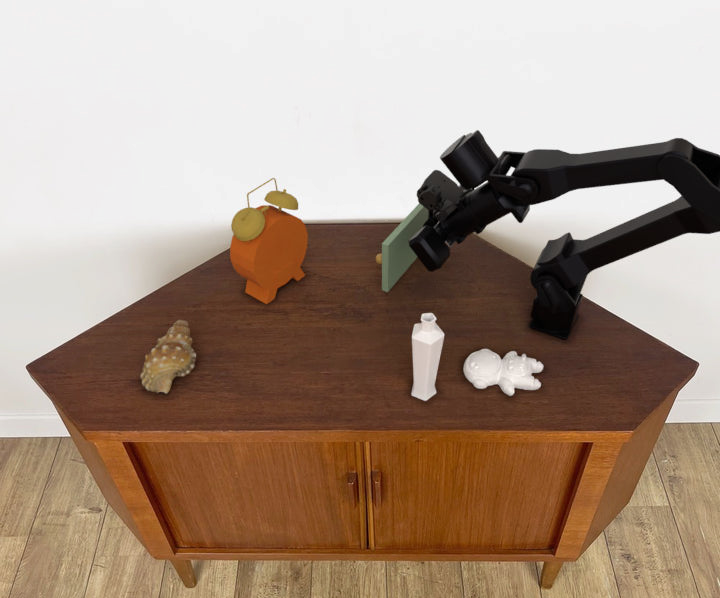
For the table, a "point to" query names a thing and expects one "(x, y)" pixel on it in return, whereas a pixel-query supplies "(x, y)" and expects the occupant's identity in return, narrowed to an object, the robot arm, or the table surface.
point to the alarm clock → (268, 244)
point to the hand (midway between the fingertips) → (415, 244)
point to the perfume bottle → (426, 356)
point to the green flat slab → (400, 247)
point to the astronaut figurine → (502, 371)
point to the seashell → (169, 359)
